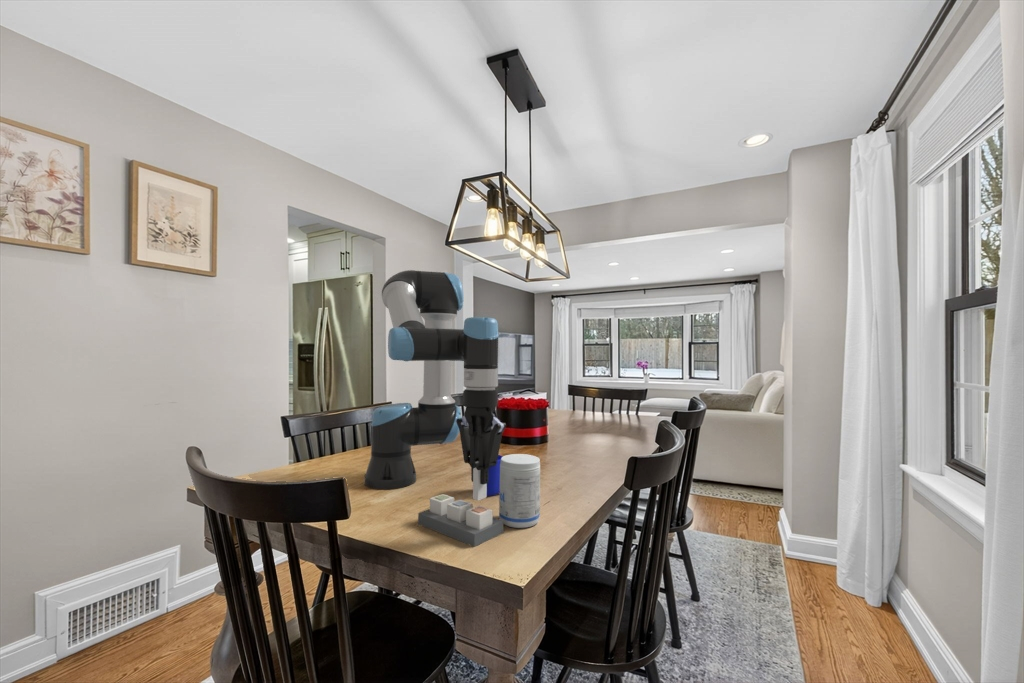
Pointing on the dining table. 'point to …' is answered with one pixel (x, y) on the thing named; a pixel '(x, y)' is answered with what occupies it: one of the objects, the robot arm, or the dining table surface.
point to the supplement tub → (519, 490)
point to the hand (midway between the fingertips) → (479, 498)
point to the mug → (494, 478)
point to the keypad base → (459, 528)
